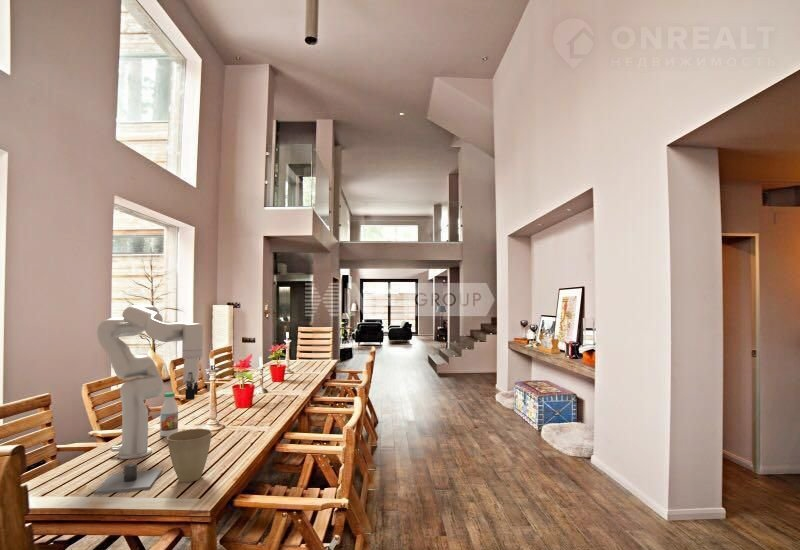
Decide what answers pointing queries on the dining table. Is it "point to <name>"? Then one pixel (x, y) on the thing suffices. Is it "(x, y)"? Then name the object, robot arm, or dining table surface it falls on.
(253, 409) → the dining table surface
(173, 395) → the milk bottle
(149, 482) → the lid
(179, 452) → the plant pot
